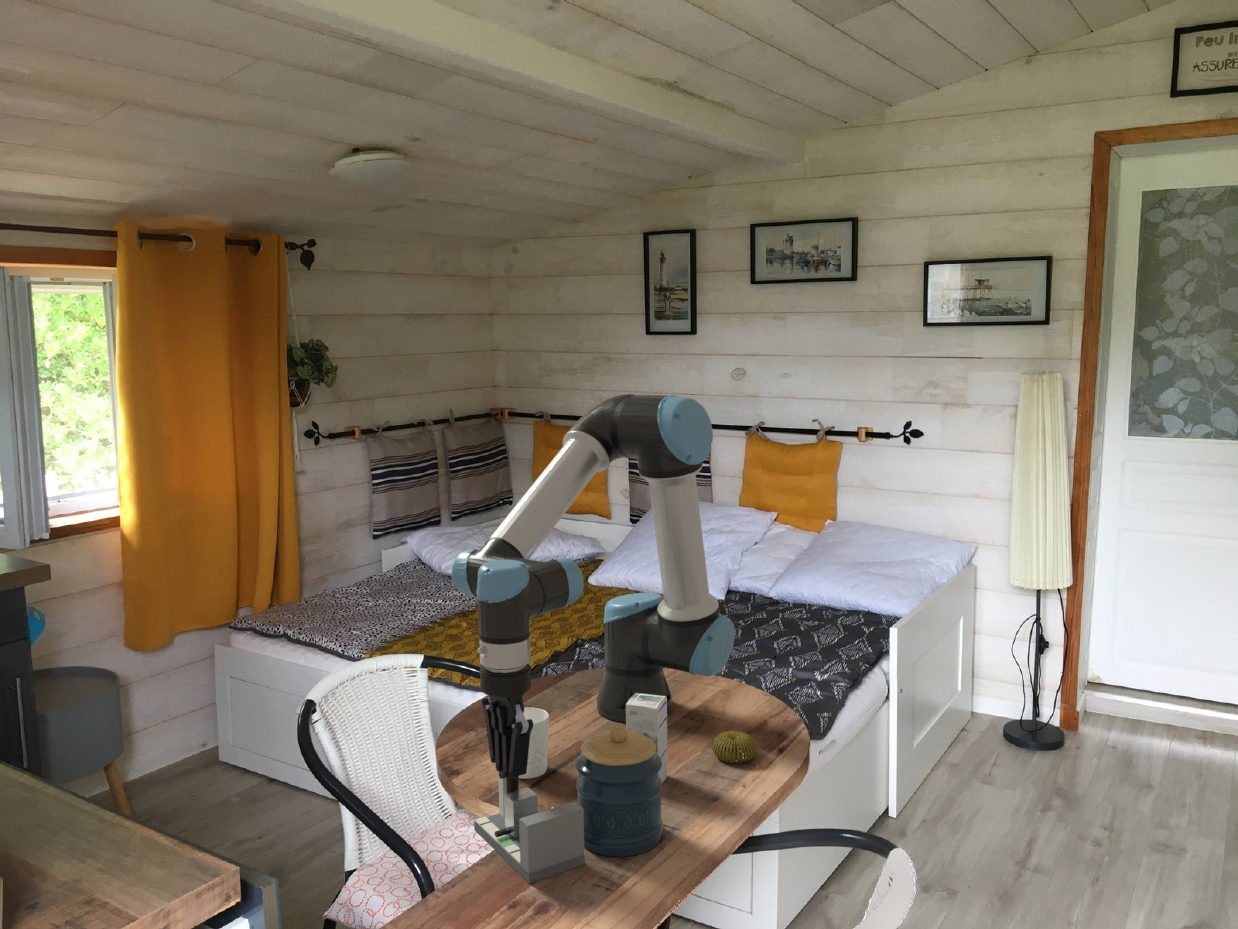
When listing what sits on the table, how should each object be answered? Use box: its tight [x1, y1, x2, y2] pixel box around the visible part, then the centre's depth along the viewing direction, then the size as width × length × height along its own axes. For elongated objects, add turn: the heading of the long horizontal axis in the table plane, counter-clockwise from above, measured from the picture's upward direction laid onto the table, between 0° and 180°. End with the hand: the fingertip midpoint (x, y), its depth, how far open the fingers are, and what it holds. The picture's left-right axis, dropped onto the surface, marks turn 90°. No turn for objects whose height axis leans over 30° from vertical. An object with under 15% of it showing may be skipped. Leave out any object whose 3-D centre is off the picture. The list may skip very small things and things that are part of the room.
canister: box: [575, 724, 664, 857], centre depth 153 cm, size 13×13×18 cm
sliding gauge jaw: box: [495, 786, 539, 838], centre depth 152 cm, size 3×6×6 cm, turn 123°
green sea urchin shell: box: [711, 730, 758, 764], centre depth 181 cm, size 8×4×8 cm
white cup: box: [519, 706, 550, 780], centre depth 176 cm, size 8×8×10 cm
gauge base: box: [473, 801, 586, 884], centre depth 151 cm, size 18×9×8 cm, turn 33°
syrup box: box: [625, 693, 669, 784], centre depth 172 cm, size 6×6×14 cm
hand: (509, 813), depth 156 cm, fingers closed
